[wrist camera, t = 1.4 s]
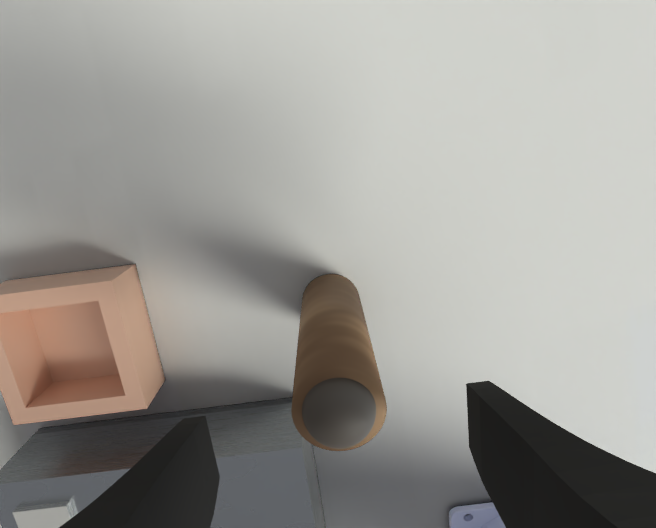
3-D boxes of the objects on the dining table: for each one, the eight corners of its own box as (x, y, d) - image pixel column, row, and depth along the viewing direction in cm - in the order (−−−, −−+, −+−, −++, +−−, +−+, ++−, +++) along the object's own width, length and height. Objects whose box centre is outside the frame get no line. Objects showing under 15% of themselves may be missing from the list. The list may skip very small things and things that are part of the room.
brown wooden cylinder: (356, 270, 21) (387, 380, 12) (362, 324, 22) (396, 468, 13) (298, 277, 21) (281, 393, 12) (306, 331, 22) (297, 480, 13)
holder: (135, 264, 21) (111, 280, 19) (165, 379, 23) (146, 408, 20) (6, 280, 21) (-34, 299, 19) (45, 394, 23) (13, 425, 20)
